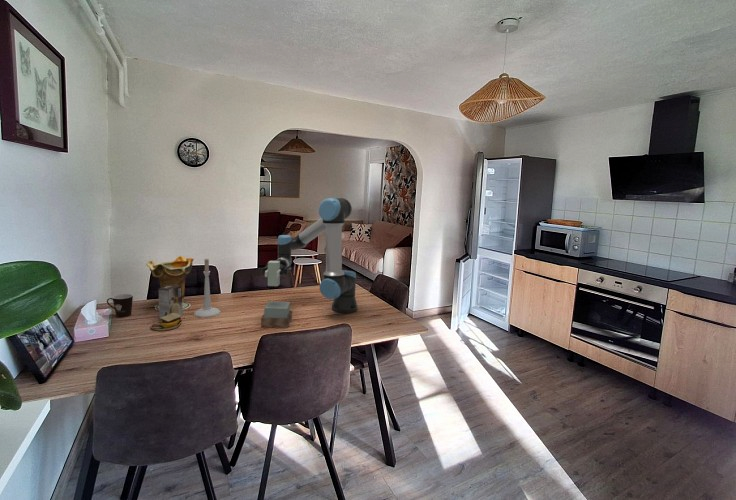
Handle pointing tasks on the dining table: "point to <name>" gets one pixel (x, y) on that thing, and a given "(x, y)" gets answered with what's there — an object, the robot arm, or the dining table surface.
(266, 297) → the dining table surface
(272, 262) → the sage pillar block
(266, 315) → the slate top block
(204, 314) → the candlestick
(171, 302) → the coffee box
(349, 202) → the robot arm
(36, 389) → the dining table surface
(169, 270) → the decorative vase
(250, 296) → the dining table surface
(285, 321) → the walnut base block
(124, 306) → the coffee mug
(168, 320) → the toy sandwich meal
